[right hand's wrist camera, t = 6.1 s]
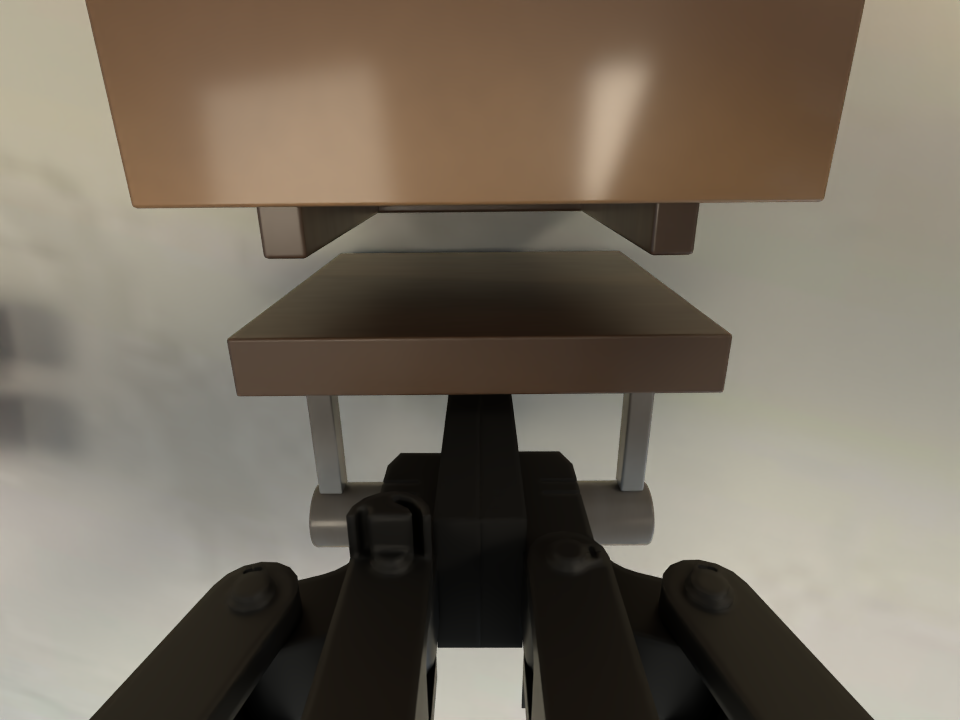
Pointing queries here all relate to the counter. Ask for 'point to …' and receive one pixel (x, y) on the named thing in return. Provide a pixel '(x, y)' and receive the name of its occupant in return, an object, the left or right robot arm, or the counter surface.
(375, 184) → the cabinet
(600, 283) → the drawer
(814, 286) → the counter surface
